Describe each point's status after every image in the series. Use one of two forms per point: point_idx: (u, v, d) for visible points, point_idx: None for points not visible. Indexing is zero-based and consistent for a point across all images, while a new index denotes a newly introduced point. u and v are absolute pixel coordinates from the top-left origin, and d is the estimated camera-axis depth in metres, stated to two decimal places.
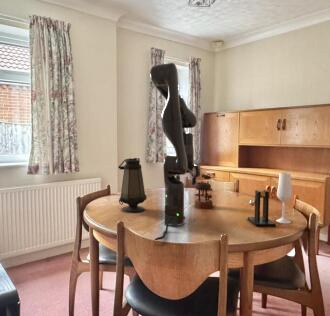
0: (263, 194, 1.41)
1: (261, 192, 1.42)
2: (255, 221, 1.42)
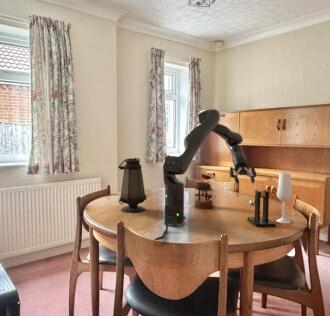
0: (263, 194, 1.41)
1: (261, 192, 1.42)
2: (255, 221, 1.42)
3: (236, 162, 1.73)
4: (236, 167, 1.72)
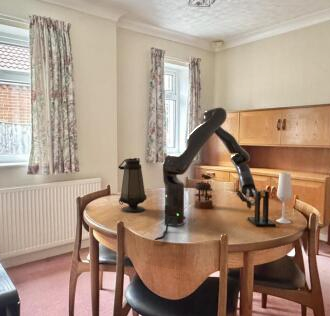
0: (263, 194, 1.41)
1: (261, 192, 1.42)
2: (255, 221, 1.42)
3: (243, 183, 1.61)
4: (243, 188, 1.60)
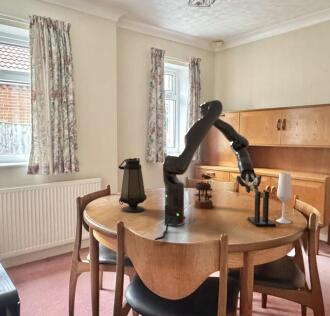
0: (263, 196, 1.41)
1: (261, 194, 1.41)
2: (255, 221, 1.42)
3: (242, 168, 1.62)
4: (242, 174, 1.61)
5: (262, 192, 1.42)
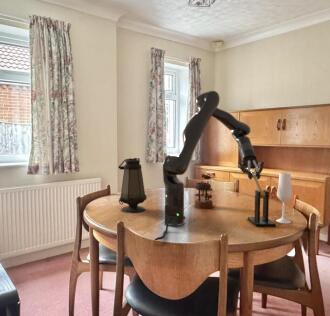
0: (262, 197, 1.42)
1: (261, 195, 1.41)
2: (255, 221, 1.42)
3: (244, 155, 1.59)
4: (244, 160, 1.58)
5: (262, 194, 1.41)
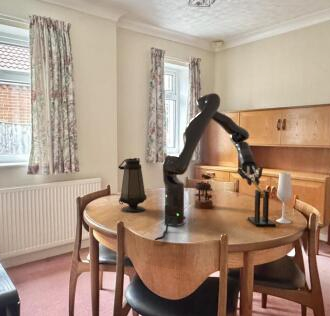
0: (263, 196, 1.42)
1: (261, 195, 1.41)
2: (255, 221, 1.42)
3: (243, 160, 1.60)
4: (243, 166, 1.59)
5: (262, 193, 1.41)
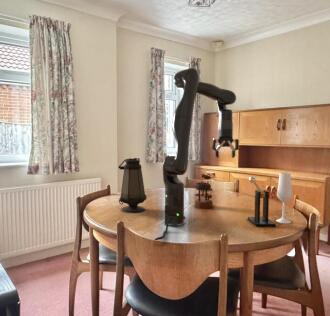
0: (263, 196, 1.42)
1: (261, 195, 1.41)
2: (255, 221, 1.42)
3: (221, 134, 1.62)
4: (220, 139, 1.63)
5: (262, 193, 1.41)
